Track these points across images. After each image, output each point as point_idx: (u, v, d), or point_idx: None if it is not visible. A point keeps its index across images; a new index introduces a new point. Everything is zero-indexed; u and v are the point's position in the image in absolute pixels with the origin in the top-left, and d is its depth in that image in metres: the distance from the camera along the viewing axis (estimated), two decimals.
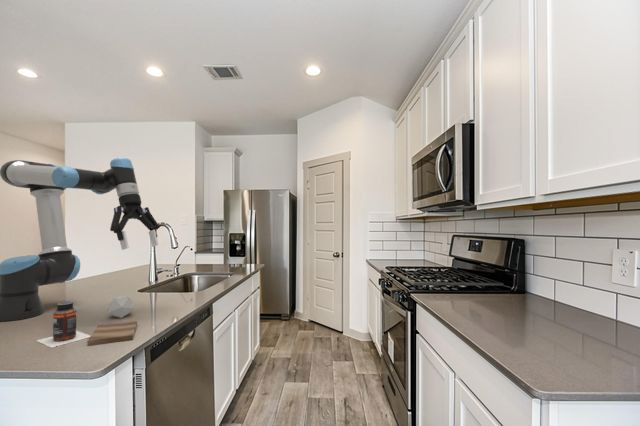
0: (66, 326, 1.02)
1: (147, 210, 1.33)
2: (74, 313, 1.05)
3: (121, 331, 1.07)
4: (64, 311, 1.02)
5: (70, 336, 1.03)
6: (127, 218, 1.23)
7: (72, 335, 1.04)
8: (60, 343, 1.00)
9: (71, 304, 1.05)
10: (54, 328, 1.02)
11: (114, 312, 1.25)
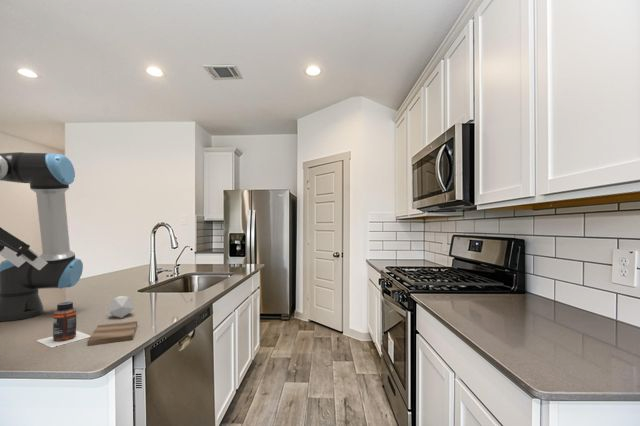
0: (66, 326, 1.02)
1: None
2: (74, 313, 1.05)
3: (121, 331, 1.07)
4: (64, 311, 1.02)
5: (70, 336, 1.03)
6: None
7: (72, 335, 1.04)
8: (60, 343, 1.00)
9: (71, 304, 1.05)
10: (54, 328, 1.02)
11: (114, 312, 1.25)
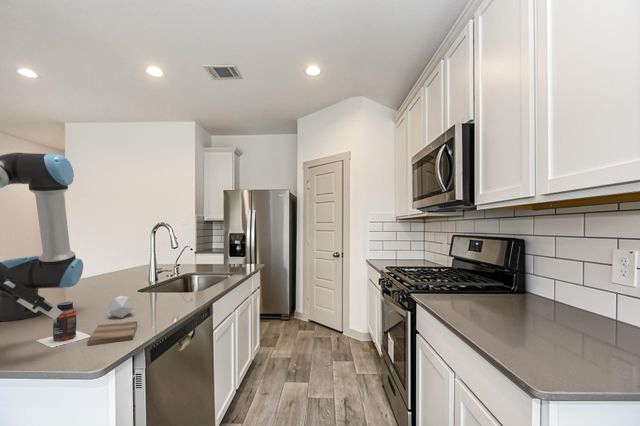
0: (66, 326, 1.02)
1: (7, 289, 0.87)
2: (74, 313, 1.05)
3: (121, 331, 1.07)
4: (64, 311, 1.02)
5: (70, 336, 1.03)
6: (5, 292, 0.94)
7: (72, 335, 1.04)
8: (60, 343, 1.00)
9: (71, 304, 1.05)
10: (54, 328, 1.02)
11: (114, 312, 1.25)
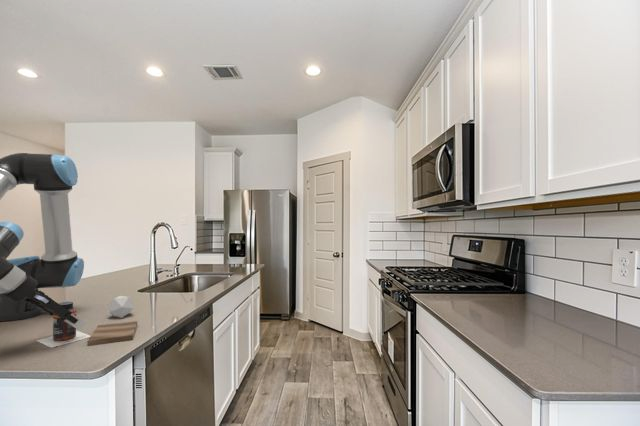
0: (66, 326, 1.02)
1: (41, 304, 0.95)
2: (74, 313, 1.05)
3: (121, 331, 1.07)
4: None
5: (70, 336, 1.03)
6: (38, 306, 1.01)
7: (72, 335, 1.04)
8: (60, 343, 1.00)
9: (71, 304, 1.05)
10: (54, 328, 1.02)
11: (114, 312, 1.25)
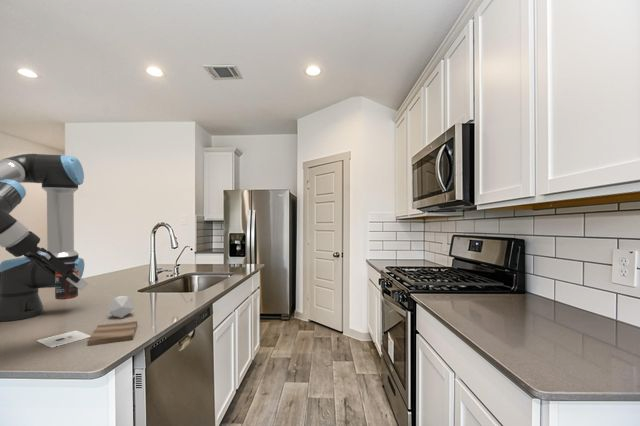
0: (68, 285, 1.03)
1: (43, 259, 0.95)
2: (76, 273, 1.05)
3: (121, 331, 1.07)
4: None
5: (72, 295, 1.03)
6: (41, 264, 1.01)
7: (74, 295, 1.04)
8: (60, 343, 1.00)
9: (73, 264, 1.05)
10: (56, 287, 1.02)
11: (114, 312, 1.25)
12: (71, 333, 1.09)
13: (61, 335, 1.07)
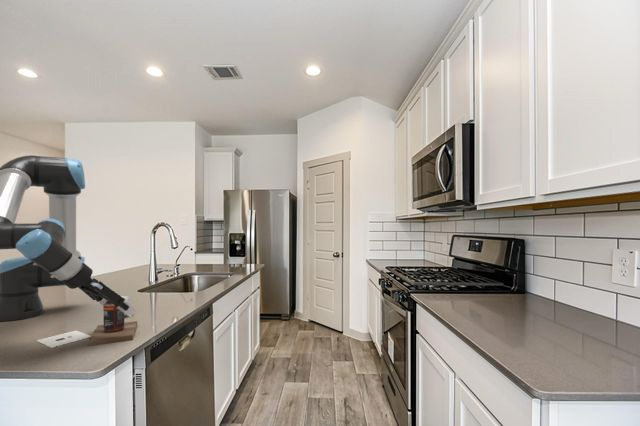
0: (116, 318, 1.06)
1: (96, 290, 0.98)
2: None
3: (121, 331, 1.07)
4: None
5: (120, 327, 1.07)
6: None
7: (121, 326, 1.08)
8: (60, 343, 1.00)
9: None
10: (105, 320, 1.06)
11: None
12: (71, 333, 1.09)
13: (61, 335, 1.07)
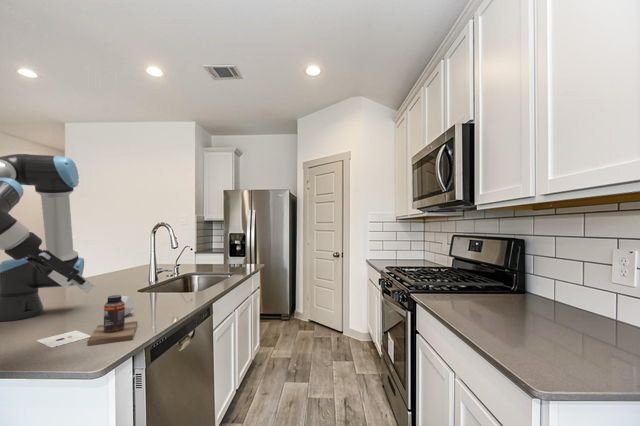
0: (116, 318, 1.07)
1: (42, 260, 0.87)
2: (123, 306, 1.09)
3: (121, 331, 1.07)
4: (114, 304, 1.07)
5: (120, 328, 1.07)
6: (38, 266, 0.94)
7: (121, 327, 1.08)
8: (60, 343, 1.00)
9: (120, 297, 1.09)
10: (105, 320, 1.06)
11: None
12: (71, 333, 1.09)
13: (61, 335, 1.07)
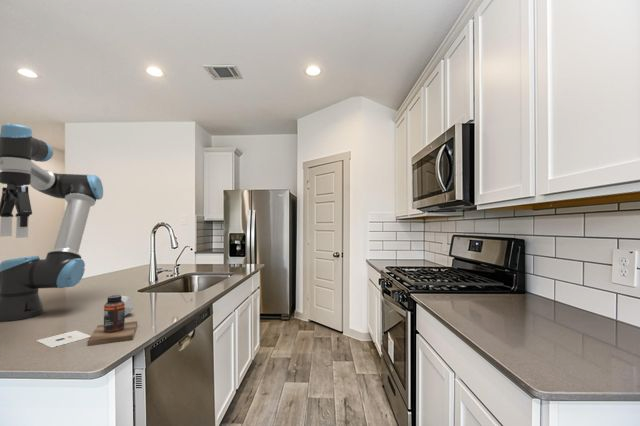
0: (116, 318, 1.07)
1: (17, 190, 1.02)
2: (123, 306, 1.09)
3: (121, 331, 1.07)
4: (114, 304, 1.07)
5: (120, 328, 1.07)
6: (5, 202, 1.07)
7: (121, 327, 1.08)
8: (60, 343, 1.00)
9: (120, 297, 1.09)
10: (105, 320, 1.06)
11: None
12: (71, 333, 1.09)
13: (61, 335, 1.07)
